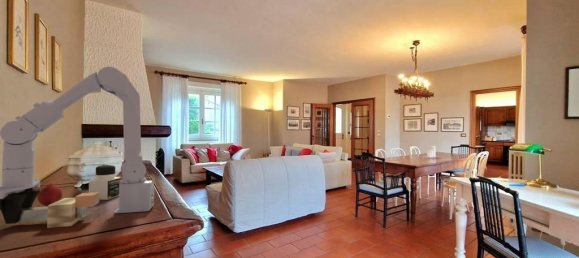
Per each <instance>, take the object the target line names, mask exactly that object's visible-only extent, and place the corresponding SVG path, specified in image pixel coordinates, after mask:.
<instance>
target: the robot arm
mask: <svg viewBox="0 0 579 258" xmlns="http://www.w3.org/2000/svg"><path fill="white" fill-rule="evenodd" d="M102 91H105V92H107V93H109V94H112V95H114V96H115V97H116V98H117V99H119V100H121V102H122V112H123V113H122V115H123V116H122V119H123V121H122V122H123V161H122V164H121V166H120V173H121V174H122V178H121V180H120V181H119V196H118V208H116V210H114V212H113V213H114V214H126V213H129V214H130V213H138V212H140V213H141V212H149V211H151V209H152V208H153V207H154V205H155V203H154V202H155V201H154V199H155V183H154V180H147V178H146V177H145V176H146V173H147V167H146V165H145V164H144V162H143V154H142V135H141V128H142V127H141V97H140V93H139V92H138V91H137V89H136V88H135V86H134V85H133V83H132V82H131V81H130V79H129V78H128V76H127V75H126V74H125V73H123V72H122V71H121V70H120V69H119V68H116V67H114V66H105V67H101V69H99V71H95V72H93V73H91V74H90V75H88V76H86V77H85V78H83V79H81V81H79V82H78V83H76V84H75V85H74V86H72V87H71V88H69V89H68V90H67V91H66V92H64V93H63V94H61V95H60V96H59V97H58V98H56V99H55V100H53V101H48V100H46V101H44V100H43V101H42V102H36V103H33V105H32V106H33V108H32V109H30V110H28V111H27V112H25V113H24V114H23V115H17V116H15V120H11V121H7V122H6V123H5V124H4V125H3V126H2V127H1V129H0V138H1V139H2V140H3V146H2V147H3V150H2V158H1V159H2V161H1V162H2V163H1V165H2V168H1V169H2V171H1V185H0V212H1V215H2V217H3V220H4V223H5V224H6V225H10V224H12V223H16V224H18V223H17V222H18V221H19V217H20V211H21V208H23V207H25V208H30V207H33V204H34V202H35V200H36V198H37V197H38V194H39V193H40V191H41V189H37V188H41V179H36V180H35V149H34V148H35V144H34V143H35V140H36V138H38V135H39V133H43V132H44V131H45V130H47V129H48V128H50V127H52V126H53V125H54V124H55V123H57V122H58V121H60V120H61V119H63V118H64V115H65V110H66V109H68V108H69V107H71V106H72V105H74V104H76V103H77V102H78V101H80V100H81V99H83V98H84V97H86V96H87V95H89V94H93V93H94V94H95V93H102ZM34 188H35V189H34ZM12 225H13V224H12Z"/></svg>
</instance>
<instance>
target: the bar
mask: <svg viewBox="0 0 579 258" xmlns="http://www.w3.org/2000/svg"><path fill="white" fill-rule="evenodd" d="M87 215H88V207H79V208H75V218H82V219H83V217H84V216H85V217H86V216H87ZM85 217H84V218H85ZM47 218H48V206H34V207H33V206H32V207H30V208H25V207H23V208H21V211H20V217H19V221H18V222H17V223H12V225H15V224H19V223H21V224H22V223H31V222H32V223H33V222H45V221H46V222H47Z"/></svg>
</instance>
